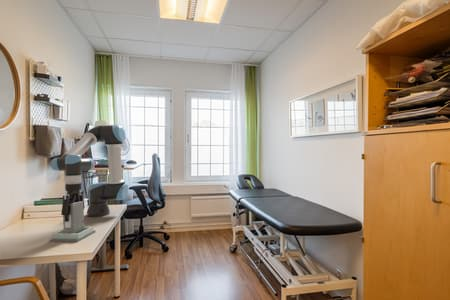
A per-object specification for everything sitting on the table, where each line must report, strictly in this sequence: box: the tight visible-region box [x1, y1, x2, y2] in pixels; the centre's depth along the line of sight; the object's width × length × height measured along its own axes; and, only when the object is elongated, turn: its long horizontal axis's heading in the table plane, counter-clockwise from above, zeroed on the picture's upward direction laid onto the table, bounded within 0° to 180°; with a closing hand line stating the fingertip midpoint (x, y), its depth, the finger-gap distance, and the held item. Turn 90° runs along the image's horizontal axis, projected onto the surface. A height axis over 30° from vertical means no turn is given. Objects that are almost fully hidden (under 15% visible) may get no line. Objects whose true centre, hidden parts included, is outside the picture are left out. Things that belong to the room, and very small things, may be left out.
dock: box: [49, 226, 96, 243], centre depth 140 cm, size 16×15×4 cm
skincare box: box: [62, 201, 85, 233], centre depth 140 cm, size 8×7×16 cm
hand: (73, 224), depth 140 cm, fingers closed on skincare box, 8 cm apart
